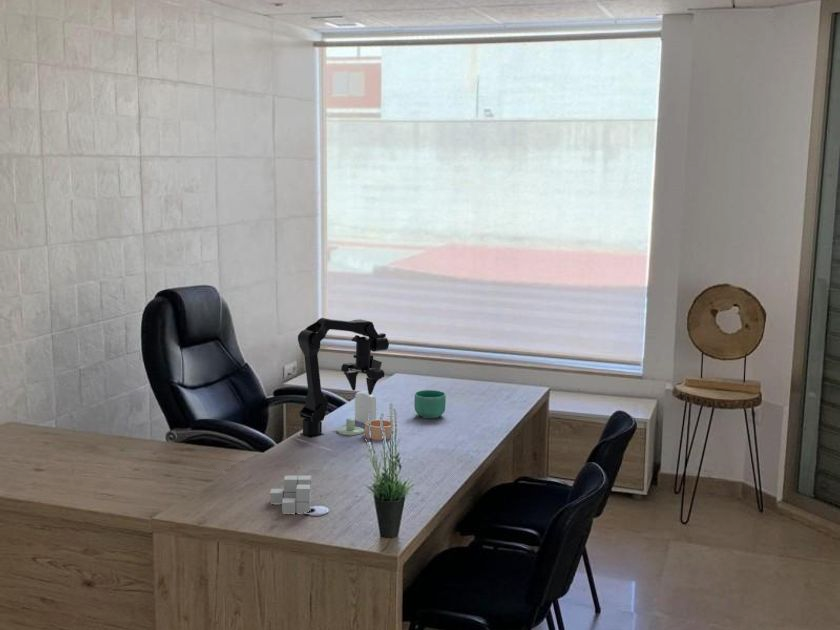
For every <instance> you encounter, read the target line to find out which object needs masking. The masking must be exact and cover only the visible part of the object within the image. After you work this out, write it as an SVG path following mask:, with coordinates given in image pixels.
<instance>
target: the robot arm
mask: <svg viewBox="0 0 840 630" xmlns="http://www.w3.org/2000/svg"><path fill="white" fill-rule="evenodd" d="M330 330H333V331H343V332H351V333H353V334H355V336H354V337H352V338H351V341H352V342H355V354H353V358H354V359H355V362H346V363H342V365H341V366H340V367H341V368H340V369H341V370H340V371H341V372H343V374H344V375H345V378H346V380H348V383H349V385H350V387H351V390H352V391H356V387H357V376H358V374H359V373H362V374H365V375H366V378H365V380H366V386H367V392H368V393H369V395H371V394H372V395H373V392H374V389H375V387H376V385H377V382H378V381H380V380H382V378H384V377H385V371H384V369H381V367H382V364H383V361H379V360H377V359H374V355H373V354H372V353H373V352H383V351H387V350H388V349H389V347H390V342H389V339H388V337H387V335H386V333H385V332H384V333H383V332H381V333H378V332H377V331H376V328H375V325H374V323H373V321H369V320H366V319H352V320H340V319H330V318H325V317H320V318H319V319H317V321H315V322H313V323H312V324H310V325H308V326H307V327H306V328H305V329H303V330H301V331H299V334H298V335H297V341H298V345H299V348H300V351H301V352H302V354H303V356H304V364H305V365H304V366H305V375H306V384H307V395H306V397H305V398H304V399H305V404H304V406H303V407H302V408H301V410H300V411H299V416H300V418H301V419H302V432H300V433H299V435H300V436H304V437H307V438H311V439H312V438H315V437H320V436H324V435H325V434H324V433H323V432H322V431H323V429H322V428H323V427H322V424H323V423H322V422H323V421H324V419H325V416H326V412H328V408H329V407H328V406H330V404H329V400H328V399H329V397H328V394H324V392H322V385H321V375H320V365H319V357H318V355H319V351H320V349H321V342H322V341H323V340H324V339H325V338H326V336H327V333H328V332H329V331H330ZM360 335H361V336H360Z"/></svg>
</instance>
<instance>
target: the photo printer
mask: <svg viewBox="0 0 840 630" xmlns="http://www.w3.org/2000/svg"><path fill="white" fill-rule="evenodd" d="M368 412H369V414H370V419H371V420H377V398H376V397H375V395H373V393H372V394H371V395H369V393H368V391H365V390H363V391H358V392H356V394H355V395H354V419H355V422H359V423H361V424H364V425H365V423H366V422H367V421H368Z"/></svg>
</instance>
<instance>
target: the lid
mask: <svg viewBox="0 0 840 630" xmlns="http://www.w3.org/2000/svg"><path fill="white" fill-rule="evenodd" d="M345 420H346V425H345V426H341V427H338V428H337V429H336V430H337V433H336V434H338V433H339V434H338V435H341V434H342V435H341V436H344V435H356V436H360V435H363V434H362V433H364V431H365V428H362V427H361V426H356V420H355V418H352V417H350V418H346V419H345ZM364 434H365V433H364Z"/></svg>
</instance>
